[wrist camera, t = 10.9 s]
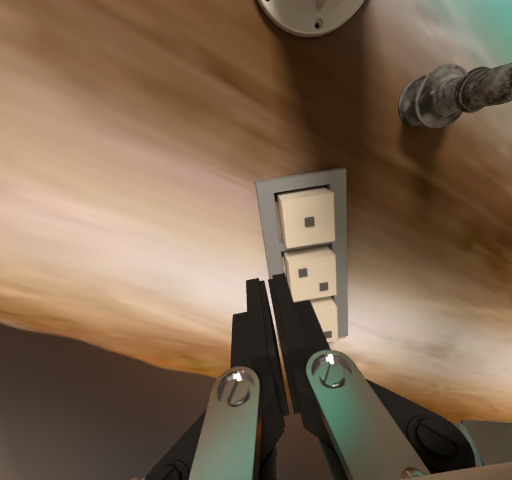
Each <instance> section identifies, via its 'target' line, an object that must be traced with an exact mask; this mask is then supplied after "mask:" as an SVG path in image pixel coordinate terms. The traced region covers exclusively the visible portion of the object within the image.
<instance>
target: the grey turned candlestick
mask: <svg viewBox="0 0 512 480" xmlns="http://www.w3.org/2000/svg"><path fill="white" fill-rule="evenodd" d="M510 101H512V63H510V64H506V65H503V66H499V67H496V68H492V69H490V68H487V67H478V68H475V69H473V70H471V71H470V72H468V73H467V71H466V70H465V69H464V68H463V67H461V66H459V65H456V64H446V65H443V66H439V67H438V68H436V69H434V70H433V71H432V72H430V73H429V74H428V75H427V76H421V77H418V78H416V79H414V80H412V81H411V82H410V83H409V84H408V85H407V86H406V87H405V89H404V90H403V92H402V94H401V96H400V99H399V104H398V112H399V115H400V118H401V119H402V121H403V122H404V123H405V124H407V125H409V126H411V127H419V126H423V125H425V126H427V127H430V128H442V127H445V126H447V125H449V124H451V123H453V122H454V121H455V120H456V119H457V118H459V117H460V115H461V114H462V113H463V112H465V113H473V112H476V111H478V110H480V109H482V108H483V107H485V106H492V105H499V104H504V103H507V102H510Z"/></svg>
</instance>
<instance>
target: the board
mask: <svg viewBox="0 0 512 480" xmlns="http://www.w3.org/2000/svg"><path fill="white" fill-rule="evenodd" d="M255 184H256V191H257V197H258V204H259V211H260V218H261V225H262V232H263V238H264V245H265V252H266V259H267V266H268V273H269V279H273V277H272V275H277V274H282V273H283V265H282V257H281V251H287V250H294V249H300V248H306V247H312V246H319V245H325V244H329V248H330V249H331V251H332V252H333V253H334V254H335V259H336V293H337V295H333V296H331V298H332V299H333V301H334V303H335V305H336V306H337V324H338V337H342V336H348V305H347V205H346V169H345V168H335V169H329V170H323V171H317V172H310V173H304V174H298V175H292V176H285V177H279V178H273V179H267V180H260V181H255ZM320 185H326V189H328V190H330V191H332V192H333V193H334V223H335V241H331V242H325V243H318V244H312V245H306V246H300V247H293V248H286V246H285V243H284V241H283V240H279V232H278V224H277V215H276V207H275V199H274V193H276V192H283V191H289V190H295V189H301V188H308V187H314V186H320ZM276 327H277V325H276ZM277 334H278V331H277ZM278 340H279V336H278ZM279 346H280V342H279Z"/></svg>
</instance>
